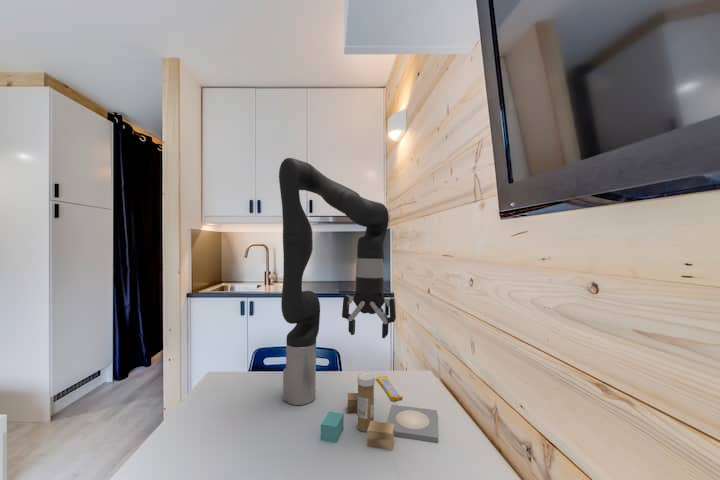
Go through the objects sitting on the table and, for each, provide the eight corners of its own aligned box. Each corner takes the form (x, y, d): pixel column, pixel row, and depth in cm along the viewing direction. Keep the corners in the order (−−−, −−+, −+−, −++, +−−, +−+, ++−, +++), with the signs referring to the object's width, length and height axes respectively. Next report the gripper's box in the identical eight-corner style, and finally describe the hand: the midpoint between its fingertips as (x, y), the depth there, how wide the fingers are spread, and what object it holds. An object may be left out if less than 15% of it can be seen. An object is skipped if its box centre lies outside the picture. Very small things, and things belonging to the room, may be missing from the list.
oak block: (367, 447, 73) (367, 430, 73) (370, 436, 76) (370, 420, 77) (392, 451, 71) (392, 433, 71) (394, 440, 75) (394, 424, 75)
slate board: (384, 434, 77) (385, 429, 77) (391, 408, 90) (391, 404, 90) (437, 442, 74) (437, 437, 74) (436, 414, 87) (436, 409, 87)
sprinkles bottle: (377, 428, 80) (378, 376, 80) (363, 434, 77) (363, 380, 78) (367, 420, 83) (368, 370, 84) (353, 425, 81) (354, 374, 81)
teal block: (320, 440, 75) (320, 424, 75) (329, 426, 81) (329, 411, 81) (336, 443, 74) (336, 426, 74) (343, 429, 80) (343, 413, 80)
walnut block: (347, 413, 87) (347, 399, 87) (347, 406, 91) (347, 393, 91) (368, 413, 87) (368, 399, 87) (367, 406, 91) (367, 393, 91)
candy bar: (403, 402, 94) (404, 396, 94) (391, 404, 93) (391, 397, 93) (386, 379, 111) (386, 374, 111) (375, 380, 110) (375, 375, 110)
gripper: (340, 275, 80) (338, 337, 79) (394, 277, 76) (392, 342, 76) (347, 272, 87) (346, 329, 87) (397, 275, 84) (396, 334, 83)
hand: (368, 335), depth 81 cm, fingers open, 8 cm apart
